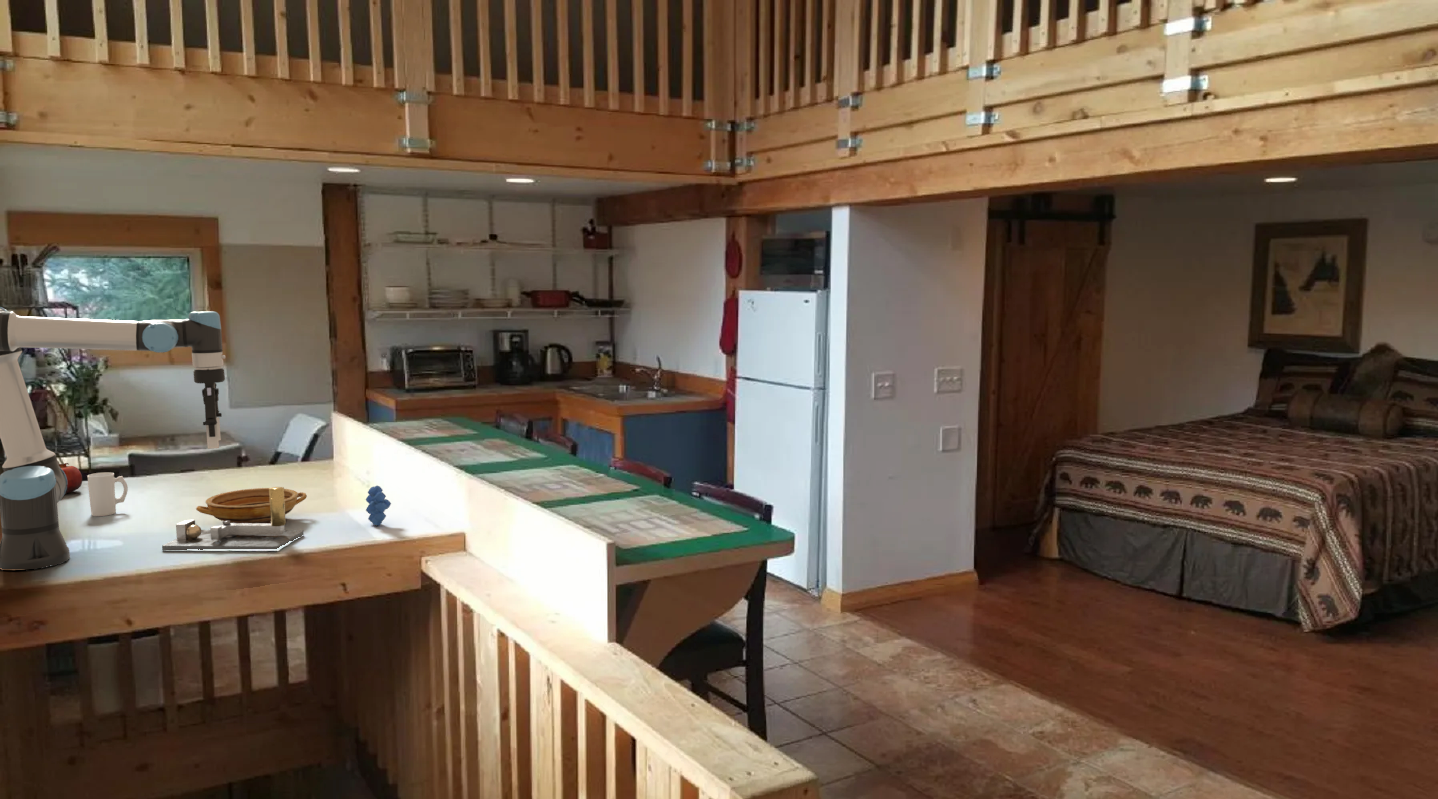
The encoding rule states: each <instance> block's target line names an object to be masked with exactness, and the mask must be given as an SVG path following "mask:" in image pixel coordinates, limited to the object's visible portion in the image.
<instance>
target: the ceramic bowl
mask: <svg viewBox="0 0 1438 799" xmlns="http://www.w3.org/2000/svg"><path fill="white" fill-rule="evenodd" d="M269 488H270V487H262V488H261V487H258V488H257V487H256V488H247V489H240V490H238V489H237V490H232V491H226V492H222V493H219V494H218V493H217V494H216V495H212V496H210V497H208V498H207V499H206V500H205V504H206V505H207V506H203V505H198V506H196V508H195V509H196V511H197V512H199V513H201V514H204V515H208V516H212V517H214V518H215V519H217V520H219V521H222V522H223V521H230V523H271V514H270V496H269ZM307 497H308V496H307V493H306V492H301V491H300V492H298V491H296V490H293V489H289V488H284V501H285V516H286V515H287V514H289V513H290V512H291V511H292V510H293V509H294V508H295V506H296V505H298V504H300V503H301V502H303V501H304V500H306V499H307Z"/></svg>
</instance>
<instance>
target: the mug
mask: <svg viewBox="0 0 1438 799" xmlns="http://www.w3.org/2000/svg"><path fill="white" fill-rule="evenodd" d="M86 476H87V485H88V494H89V495H88V496H89V504H90V505H89V506H90V512H91V516H93V517H107V516H111V515H114V514H116V512H117V508H116V507H117V506H116V505H118V504H119V503H124V502H125V500H126V497H127V494H128V490H129V487H128V484H127V481H126V480H125V478H124V477H123V475H121V476H120V475H119V476H117V477H115V473H114V472H96V473H91V474H88V475H86ZM117 482H119V483H120V484H122V486H123V490H122V491H123V493H122V494H121V496H119V497H116V492H115V491H116V490H115V488H116V487H115V484H116V483H117Z"/></svg>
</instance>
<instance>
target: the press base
mask: <svg viewBox="0 0 1438 799" xmlns="http://www.w3.org/2000/svg"><path fill="white" fill-rule="evenodd" d="M175 532H176V533H175V534H176V538H175V539H173V540H171V541H169V542H167V543H165V544H162V550H187V549H198V550H199V549H200V550H203V549H277V548H279V547H280V546H282V545H285V544H286V543H288V542H289V541H293V540H294V539H296V538H298V537H301V536H302V535H305V534H304V530H285V533H283V534H281V535H227V536H225V537H223V538H221V539H219V540H211V531H210V529H201V527H200V526H199V525H197V524H196V519H185V520H182V521H180V522H177V523H176V524H175ZM301 538H302V537H301ZM162 550H161V551H162Z"/></svg>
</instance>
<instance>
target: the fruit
mask: <svg viewBox="0 0 1438 799" xmlns="http://www.w3.org/2000/svg"><path fill="white" fill-rule="evenodd" d="M58 464H59V467H60V468H61V469H62V470H63V471H64V473H65V475H66V477H67V490H66V492H65V494H64V495H66V494H69V493H72V492H74V491H76V490H79V488H81V486H82V484H83V475H82V473H81V471H80V470H79V469H78V467H77V466H74V465H70V463H69V462H64V463H58Z"/></svg>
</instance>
